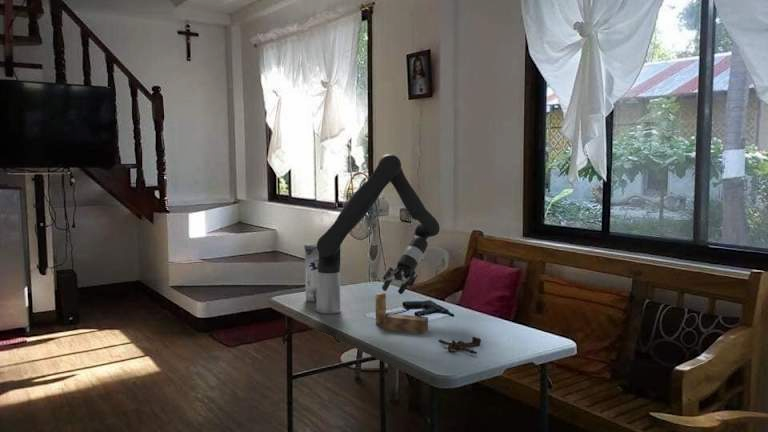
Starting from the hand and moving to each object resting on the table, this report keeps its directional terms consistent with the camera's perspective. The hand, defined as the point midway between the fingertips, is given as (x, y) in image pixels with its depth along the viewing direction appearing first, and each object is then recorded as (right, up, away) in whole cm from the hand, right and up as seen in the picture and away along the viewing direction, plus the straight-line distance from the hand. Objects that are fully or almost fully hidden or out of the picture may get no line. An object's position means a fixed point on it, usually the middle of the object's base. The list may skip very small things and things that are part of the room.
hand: (391, 291), depth 245 cm
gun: (+15, -11, +17) cm, 25 cm away
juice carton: (-33, -9, +38) cm, 51 cm away
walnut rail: (+5, -13, -12) cm, 18 cm away
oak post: (-4, -12, -4) cm, 14 cm away
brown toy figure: (+24, -16, -35) cm, 45 cm away
